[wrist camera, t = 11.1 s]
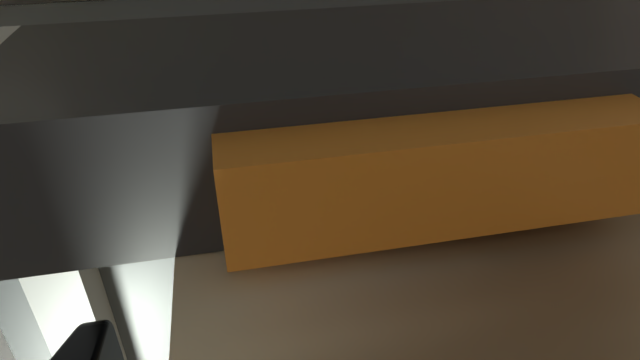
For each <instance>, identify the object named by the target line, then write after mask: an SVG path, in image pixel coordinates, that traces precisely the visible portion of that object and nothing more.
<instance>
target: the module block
mask: <svg viewBox="0 0 640 360" xmlns="http://www.w3.org/2000/svg"><path fill="white" fill-rule="evenodd" d="M169 360H640V214H634V215H627V216H620V217H613V218H606V219H599V220H592V221H585V222H578V223H571V224H564V225H557V226H550V227H543V228H536V229H529V230H522V231H515V232H508V233H501V234H494V235H487V236H480V237H473V238H466V239H459V240H452V241H445V242H438V243H431V244H424V245H417V246H410V247H403V248H396V249H389V250H382V251H375V252H368V253H361V254H354V255H347V256H340V257H333V258H326V259H319V260H312V261H305V262H298V263H291V264H284V265H277V266H270V267H263V268H256V269H249V270H241V271H234V272H227V266H226V259H225V252H224V251H218V252H211V253H203V254H196V255H189V256H181V257H175V263H174V280H173V298H172V315H171V333H170V350H169Z"/></svg>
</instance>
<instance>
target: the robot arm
mask: <svg viewBox="0 0 640 360" xmlns="http://www.w3.org/2000/svg"><path fill="white" fill-rule="evenodd" d="M50 360H124V357H123V353H122V350H121V347H120V344H119V341H118V338H117V335H116V332H115V329H114V326H113V324H112V322H111V321H109V320H99V321H92V322H86V323H82V324H80V325H79V326H78V327H77V328H76V329H75V330H74V331H73V332H72V333H71V335H70V336H69V337H68V338H67V339H66V341H65V342H64V343H63V344H62V345H61V347H60V348H59V349H58V350H57V352H56V353H55V354H54V355H53V356H52V358H51V359H50Z"/></svg>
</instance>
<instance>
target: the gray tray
mask: <svg viewBox="0 0 640 360" xmlns="http://www.w3.org/2000/svg"><path fill="white" fill-rule="evenodd" d="M634 214H640V0H103V1H83V2H63V3H43V4H24V5H4V6H0V329H1V331H2V333H3V335H4V337H5V339H6V341H7V344H8V346H9V348H10V350H11V352H12V354H13V356H14V358H15V360H50V359H51V358H52V356H53V355H54V354H55V353H56V352H57V350H58V349H59V348H60V347H61V345H62V344H63V343H64V342H65V341H66V339H67V338H68V337H69V336H70V335H71V333H72V332H73V331H74V330H75V329H76V328H77V327H78V326H79V325H80V324H82V323H86V322H92V321H99V320H109V321H111V322H112V324H113V326H114V329H115V332H116V335H117V338H118V341H119V344H120V347H121V350H122V353H123V357H124V360H169V350H170V333H171V315H172V298H173V280H174V263H175V257H181V256H189V255H196V254H203V253H211V252H218V251H224V252H225V259H226V266H227V272H234V271H241V270H249V269H256V268H263V267H270V266H277V265H284V264H291V263H298V262H305V261H312V260H319V259H326V258H333V257H340V256H347V255H354V254H361V253H368V252H375V251H382V250H389V249H396V248H403V247H410V246H417V245H424V244H431V243H438V242H445V241H452V240H459V239H466V238H473V237H480V236H487V235H494V234H501V233H508V232H515V231H522V230H529V229H536V228H543V227H550V226H557V225H564V224H571V223H578V222H585V221H592V220H599V219H606V218H613V217H620V216H627V215H634Z"/></svg>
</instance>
